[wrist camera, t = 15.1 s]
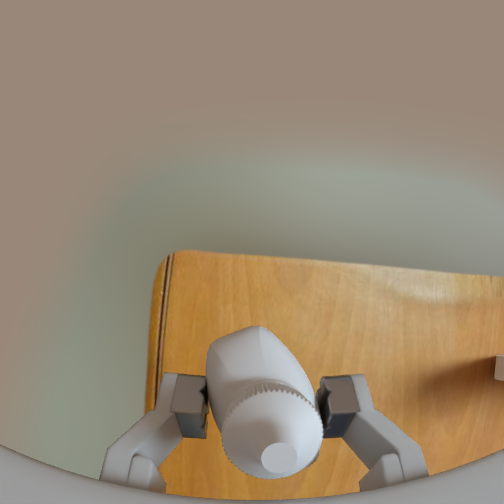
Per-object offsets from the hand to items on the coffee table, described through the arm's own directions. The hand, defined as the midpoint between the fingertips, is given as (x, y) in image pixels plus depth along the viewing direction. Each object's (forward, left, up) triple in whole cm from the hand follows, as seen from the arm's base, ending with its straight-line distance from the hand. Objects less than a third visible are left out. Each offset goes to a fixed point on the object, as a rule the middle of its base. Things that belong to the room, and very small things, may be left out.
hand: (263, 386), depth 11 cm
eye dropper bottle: (0, 0, -7) cm, 7 cm away
